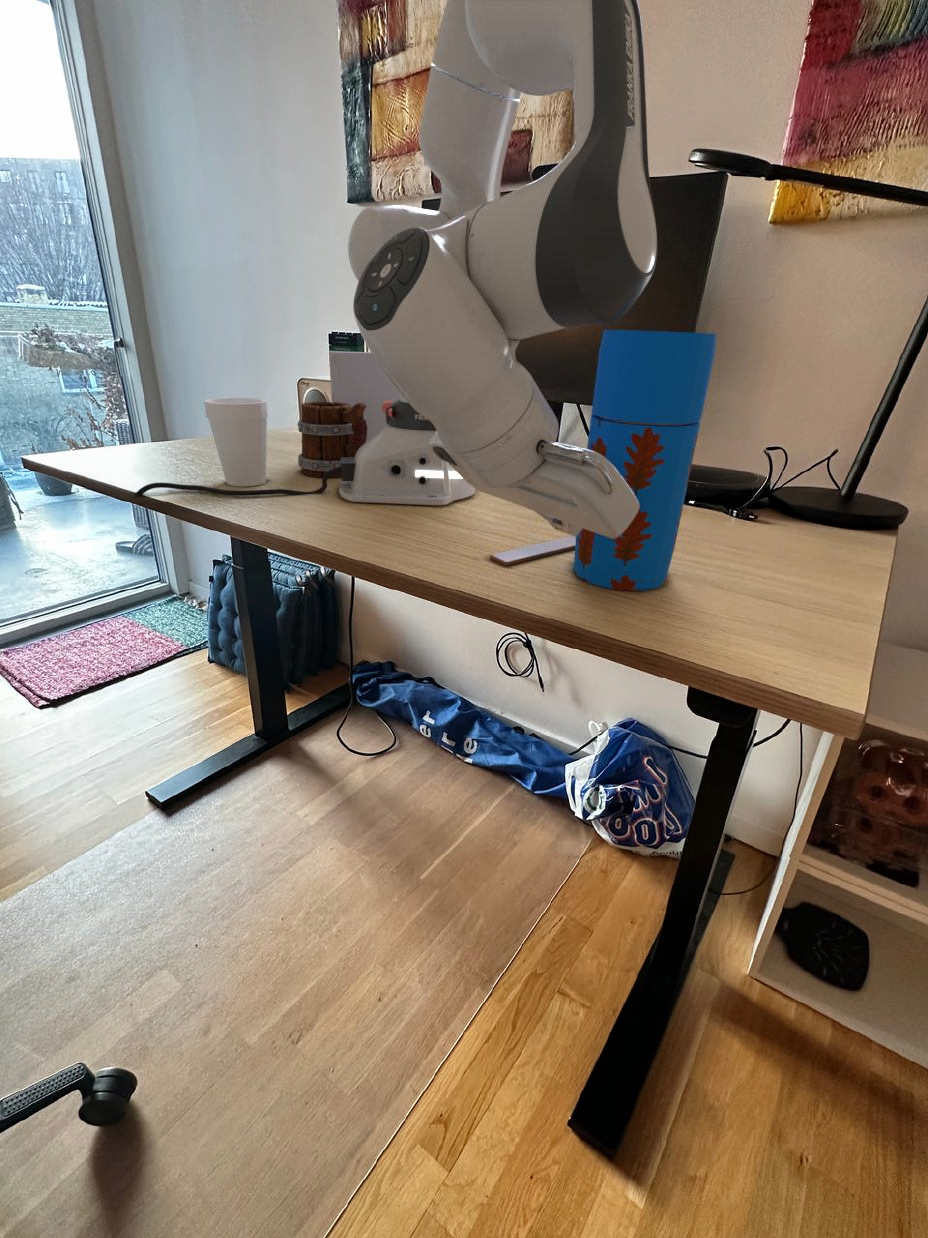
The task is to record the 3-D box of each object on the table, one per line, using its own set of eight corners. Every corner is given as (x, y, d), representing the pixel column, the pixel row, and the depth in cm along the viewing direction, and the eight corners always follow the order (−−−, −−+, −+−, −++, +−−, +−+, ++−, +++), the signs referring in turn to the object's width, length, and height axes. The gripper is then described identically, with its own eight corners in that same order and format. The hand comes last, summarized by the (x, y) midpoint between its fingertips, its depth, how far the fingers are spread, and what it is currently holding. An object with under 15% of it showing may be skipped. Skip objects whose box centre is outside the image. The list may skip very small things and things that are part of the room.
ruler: (506, 566, 68) (506, 562, 67) (489, 558, 70) (490, 554, 70) (663, 526, 84) (663, 523, 84) (646, 521, 86) (646, 518, 86)
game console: (467, 458, 124) (471, 356, 115) (337, 460, 117) (331, 351, 108) (459, 452, 129) (463, 354, 120) (335, 455, 122) (328, 350, 113)
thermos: (672, 596, 61) (728, 333, 50) (570, 585, 63) (602, 329, 52) (661, 561, 71) (707, 334, 60) (573, 552, 73) (601, 330, 62)
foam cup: (234, 474, 103) (223, 396, 97) (284, 477, 102) (276, 399, 97) (205, 486, 95) (192, 402, 89) (259, 490, 94) (249, 405, 88)
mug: (328, 459, 116) (333, 381, 108) (381, 483, 110) (391, 402, 102) (281, 468, 107) (282, 383, 99) (336, 495, 101) (343, 407, 93)
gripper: (620, 422, 42) (674, 530, 52) (456, 393, 57) (522, 482, 66) (570, 490, 42) (634, 586, 52) (417, 443, 56) (489, 525, 66)
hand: (570, 527), depth 59 cm, fingers closed
